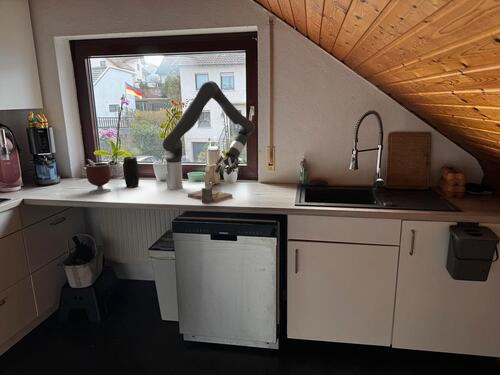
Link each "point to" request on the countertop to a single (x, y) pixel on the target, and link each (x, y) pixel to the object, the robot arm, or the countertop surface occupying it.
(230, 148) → the robot arm
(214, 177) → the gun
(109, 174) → the mate gourd
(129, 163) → the portable speaker
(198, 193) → the brown flat slatted board
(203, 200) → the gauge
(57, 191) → the countertop surface
